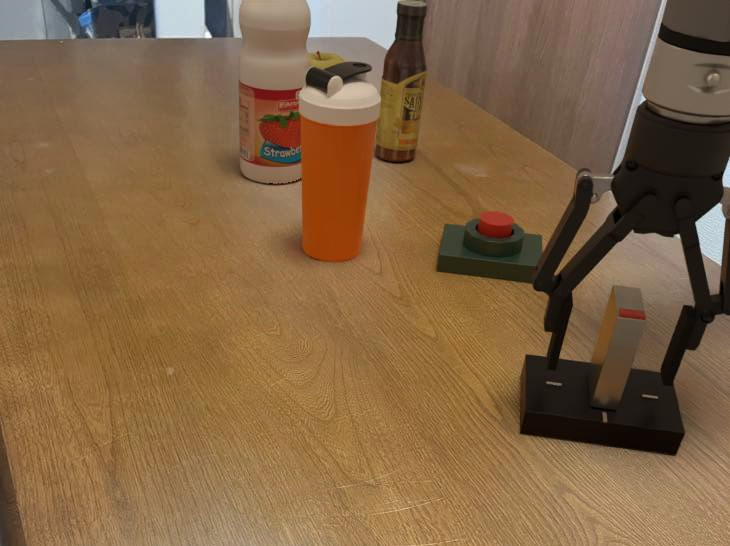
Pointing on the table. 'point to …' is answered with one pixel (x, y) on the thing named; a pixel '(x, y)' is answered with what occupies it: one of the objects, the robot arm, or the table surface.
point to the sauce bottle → (402, 86)
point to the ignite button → (495, 224)
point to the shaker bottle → (336, 158)
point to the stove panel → (597, 425)
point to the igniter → (489, 253)
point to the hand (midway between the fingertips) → (608, 370)
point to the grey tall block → (616, 346)
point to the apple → (324, 60)
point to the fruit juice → (272, 87)
